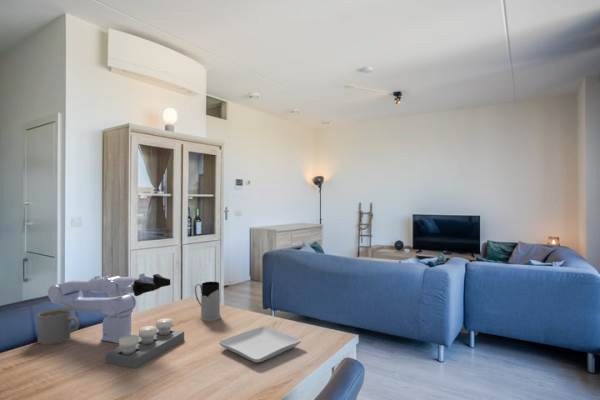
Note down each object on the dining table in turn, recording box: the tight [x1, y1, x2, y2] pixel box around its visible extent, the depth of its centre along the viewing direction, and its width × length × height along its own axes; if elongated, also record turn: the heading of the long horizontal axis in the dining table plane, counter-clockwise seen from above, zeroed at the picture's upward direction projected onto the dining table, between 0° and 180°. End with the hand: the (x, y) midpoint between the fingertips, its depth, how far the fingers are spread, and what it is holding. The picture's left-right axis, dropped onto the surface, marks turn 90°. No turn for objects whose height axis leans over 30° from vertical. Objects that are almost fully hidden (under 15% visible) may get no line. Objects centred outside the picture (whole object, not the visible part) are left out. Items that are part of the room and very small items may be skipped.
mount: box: [104, 329, 185, 369], centre depth 125 cm, size 12×24×3 cm, turn 161°
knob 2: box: [138, 325, 157, 345], centre depth 125 cm, size 6×6×5 cm
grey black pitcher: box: [194, 281, 222, 322], centre depth 160 cm, size 9×14×15 cm, turn 57°
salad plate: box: [218, 326, 302, 363], centre depth 127 cm, size 21×21×3 cm
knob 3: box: [155, 317, 174, 336], centre depth 133 cm, size 6×6×5 cm
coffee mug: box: [37, 307, 81, 345], centre depth 135 cm, size 13×10×10 cm
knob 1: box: [118, 334, 139, 356], centre depth 117 cm, size 6×6×5 cm
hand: (162, 284), depth 129 cm, fingers open, 7 cm apart
